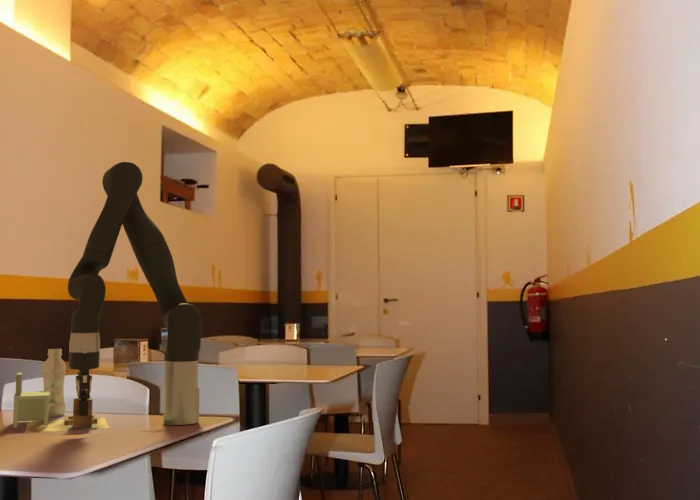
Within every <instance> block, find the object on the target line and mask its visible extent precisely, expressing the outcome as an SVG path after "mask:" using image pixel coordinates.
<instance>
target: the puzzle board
mask: <svg viewBox="0 0 700 500" xmlns="http://www.w3.org/2000/svg"><path fill="white" fill-rule="evenodd" d="M105 429H107V430H108V429H110V426H109V424H108V422H107V419H106V418H105V417H97V414H92V427H88V428H73V415H66V416H65V415H64V419H55V420H53V419H50V420H49V419H48V426H44V420H39V421H26V427H25V434H31V433H32V434H33V433H34V434H35V433H36V434H37V433H49V432H50V433H53V432H54V433H55V432H68V431H84V430H86V431H88V430H89V431H90V430H91V431H92V430H105ZM68 435H70V434H67V436H68ZM49 436H52V435H49ZM31 437H33V438H34V435H33V436H31Z"/></svg>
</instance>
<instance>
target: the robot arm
mask: <svg viewBox="0 0 700 500" xmlns="http://www.w3.org/2000/svg"><path fill="white" fill-rule="evenodd" d="M143 179H144V178H143V173H142V171H141V169H140V168H139V166H138V165H137V164H136V163H135V162H132V161H120V162H117V163H115V164H114V165H113V166H111V167H110V168H109V169H107V170H106V171H105V172H104V174H103V176H102V187H103V189H104V192H105V194H106V196H107V197H106V200H105V202H104V205H103V207H102V210H101V212H100V214H99V216H98V218H97V220H96V222H95V224H94V226H93V228H92V230H91V232H90V234H89V236H88V239H87V242H86V245H85V248H84V250H83V254H82V257H81V258H80V260H79V261H78V262H77V264H76V266H75V267H74V269H73V271H72V273H71V274H70V276H69V280H68V283H67V292H68V295H69V296H70V297H71V298H72V299H73V300H75V301H78V302H79V304H78V308H77V309H76V310H74V311H73V312H72V314H71V319H70V322H71V323H70V338H69V351H68V354H69V355H68V368H69V369H71V370H78V371H77V375H75V384H76V385H75V389H76V393H77V394H76V396H77V398H78V399H79V415H80V416H87V415H88V402H89V401H87V400H89V399H90V398H91V395H90V394H91V393H92V383H93V376H92V375H91V374H90V370H95V369H96V370H97V369H99V367H100V352H101V338H100V323H101V322H100V317H101V313H102V310H103V307H104V301H105V300H106V299H105V298H106V292H107V291H106V290H107V288H106V283H105V281H104V280H105V279H104V278H103V277H102V276H100V275H99V274H100V272H101V271H102V270H104V269H105V268H107V267H108V265H109V264H110V262H111V258H112V255H113V252H114V249H115V248H116V247H115V246H116V243H117V240H118V237H119V235H120V231H121V229H122V227H123V230H124V231H125V234H126V236H127V237H126V238H128V241H129V244H130V247H131V248H132V249H131V250H132V252H133V254H134V255H135V256H134V257H135V258H136V261H137V263H138V265H139V267H140V269H141V271H142V273H143V275H144V277H145V279H146V281H147V282H148V284H149V286H150V288H151V289H152V292H153V294H154V296H155V298H156V301H157V305H158V308H159V311H160V314H161V318H162V320H163V324H164V326H165V328H166V330H167V342H166V348H165V351H164V375H163V376H164V382H163V383H164V385H163V424H164V425H168V426H169V425H171V426H185V425H193V424H199V423H200V391H201V390H200V388H199V354H200V351H201V343H202V342H201V340H202V317H201V314H200V313H201V312H200V311H199V309H198V308H197V307H196V306H195V305H193V304H191V303H189V302H188V301H187V299H186V297H185V295H184V293H183V291H182V288H181V287H180V283H179V282H178V276H177V272H176V267H175V263H174V258H173V256H172V253H171V250H170V248H169V245H168V243H167V241H166V238H165V236H164V234H163V233H162V230H160V228H159V227H158V226H157V225H156V224H155V222H154V221H153V220H152V219H151V218H150V217H149V215H147V213H146V211H145V210H144V208H143V205H142V203H141V201H140V197H139V196H138V192H139V190H140V188H141V186H142V183H143Z"/></svg>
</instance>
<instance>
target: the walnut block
mask: <svg viewBox="0 0 700 500" xmlns="http://www.w3.org/2000/svg"><path fill="white" fill-rule="evenodd" d="M87 401H89V402H88V415H87V416H80V415H79V399H78V397H77V398H73V407H72V408H73V409H72V413H73V414H72V416H73V428H88V427H92V415H93V402H94V400H93V397H90V399H89V400H87Z"/></svg>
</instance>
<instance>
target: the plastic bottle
mask: <svg viewBox="0 0 700 500" xmlns="http://www.w3.org/2000/svg"><path fill="white" fill-rule="evenodd" d="M62 350H63V349H62V348H49V349H47V357H48V358H47V359H46V360H45V361H44V363H43V364H42V367H41V369H42V378H43V391H49V413H48V418H55V417H56V418H58V417H63V416H65V413H66V404H65V403H66V402H65V394H64V389H65V388H64V385H65V378H66V370H67V366H66V363H65V361H64V360H63V358H62V356H63V353H62V352H63V351H62Z"/></svg>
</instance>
